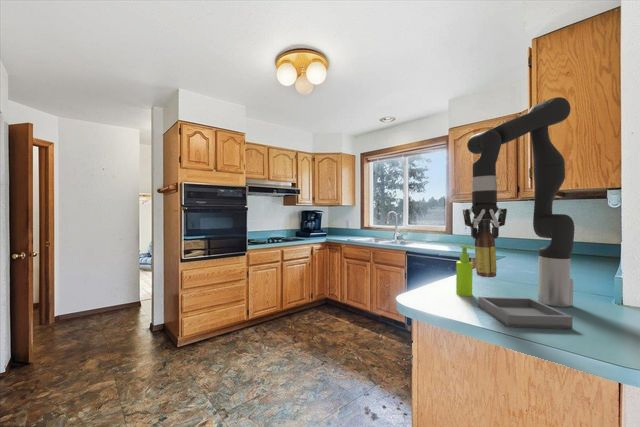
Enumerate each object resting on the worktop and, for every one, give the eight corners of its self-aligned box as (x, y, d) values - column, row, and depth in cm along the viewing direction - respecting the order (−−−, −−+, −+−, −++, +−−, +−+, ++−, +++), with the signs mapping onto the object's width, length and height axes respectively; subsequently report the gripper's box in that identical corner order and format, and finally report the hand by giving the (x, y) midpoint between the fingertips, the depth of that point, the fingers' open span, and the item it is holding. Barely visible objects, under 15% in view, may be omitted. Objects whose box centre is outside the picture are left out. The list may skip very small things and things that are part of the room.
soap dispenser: (468, 297, 112) (468, 247, 112) (453, 293, 118) (453, 245, 118) (477, 295, 115) (478, 246, 115) (462, 291, 121) (462, 244, 121)
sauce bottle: (491, 273, 101) (490, 218, 101) (500, 278, 95) (499, 219, 95) (471, 273, 102) (471, 218, 102) (479, 277, 96) (479, 219, 96)
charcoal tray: (530, 307, 101) (530, 298, 101) (572, 328, 83) (572, 317, 83) (478, 306, 102) (478, 296, 102) (508, 327, 84) (508, 315, 84)
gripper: (500, 190, 101) (500, 237, 102) (458, 191, 103) (458, 237, 103) (512, 188, 94) (512, 239, 94) (467, 189, 95) (467, 239, 95)
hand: (484, 238), depth 98 cm, fingers closed on sauce bottle, 6 cm apart
